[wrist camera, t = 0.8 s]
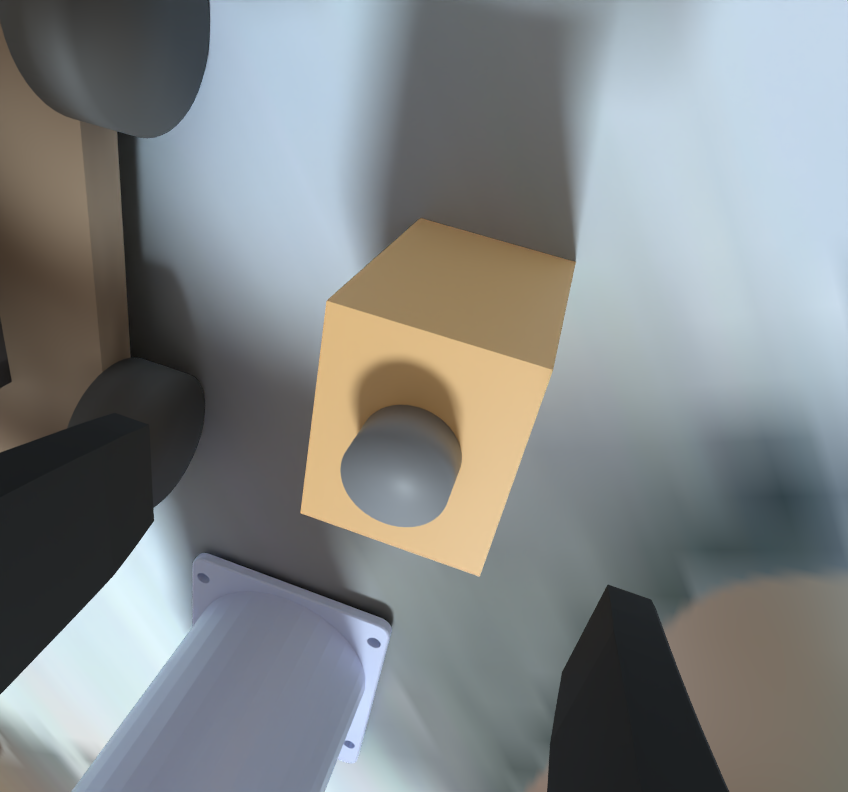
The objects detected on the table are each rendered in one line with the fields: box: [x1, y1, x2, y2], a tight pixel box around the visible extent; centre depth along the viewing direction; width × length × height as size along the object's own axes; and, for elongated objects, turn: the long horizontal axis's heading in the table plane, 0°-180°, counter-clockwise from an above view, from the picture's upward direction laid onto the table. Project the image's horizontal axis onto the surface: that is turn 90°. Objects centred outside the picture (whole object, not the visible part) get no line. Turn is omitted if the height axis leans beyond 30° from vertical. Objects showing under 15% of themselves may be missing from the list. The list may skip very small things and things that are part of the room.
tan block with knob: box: [300, 218, 576, 577], centre depth 14 cm, size 5×4×7 cm
